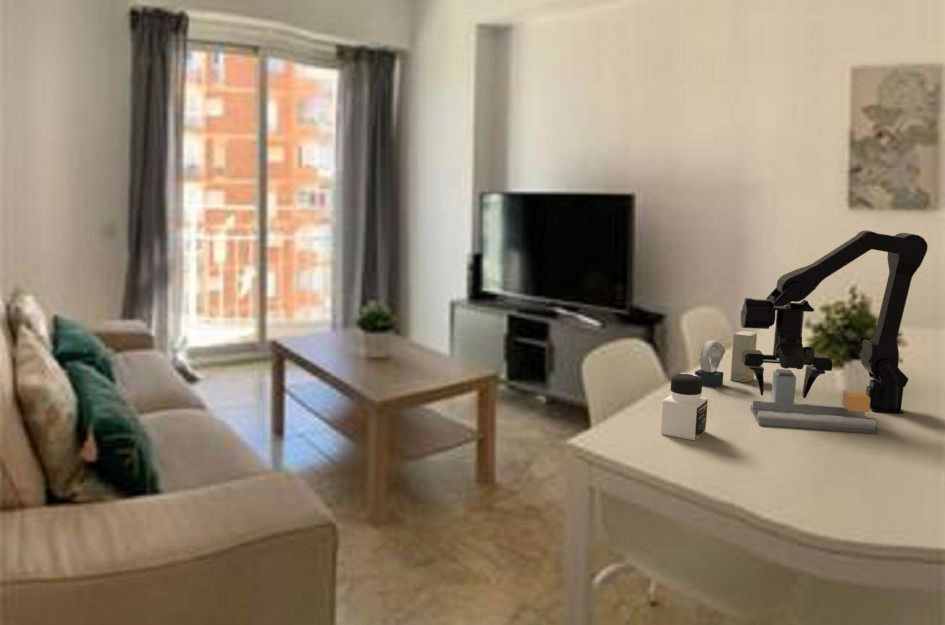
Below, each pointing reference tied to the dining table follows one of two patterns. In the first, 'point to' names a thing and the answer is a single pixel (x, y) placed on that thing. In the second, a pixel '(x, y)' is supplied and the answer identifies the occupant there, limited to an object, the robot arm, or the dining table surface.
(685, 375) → the medicine bottle
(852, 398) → the plain orange cuboid
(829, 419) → the rail plate
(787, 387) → the block
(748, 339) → the skincare box
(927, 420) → the dining table surface
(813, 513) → the dining table surface
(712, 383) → the watch
